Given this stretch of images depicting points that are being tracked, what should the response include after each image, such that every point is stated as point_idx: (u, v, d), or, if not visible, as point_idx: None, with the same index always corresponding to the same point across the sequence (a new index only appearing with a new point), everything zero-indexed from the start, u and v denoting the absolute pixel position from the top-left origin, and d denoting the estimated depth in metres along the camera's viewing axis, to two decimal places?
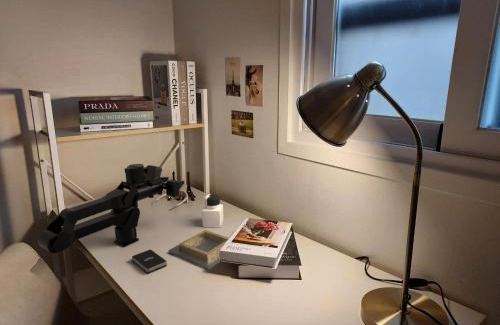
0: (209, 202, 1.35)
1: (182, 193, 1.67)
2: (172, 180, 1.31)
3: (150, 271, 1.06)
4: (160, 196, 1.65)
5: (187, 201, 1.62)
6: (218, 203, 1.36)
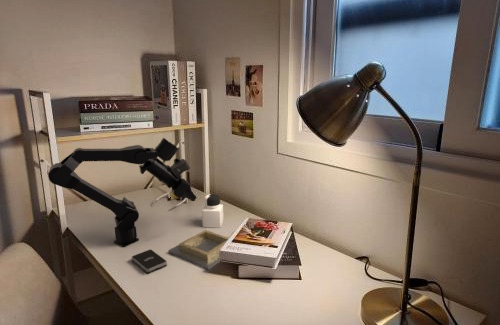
0: (209, 202, 1.35)
1: None
2: None
3: (150, 271, 1.06)
4: (160, 196, 1.65)
5: (187, 201, 1.62)
6: (218, 203, 1.36)
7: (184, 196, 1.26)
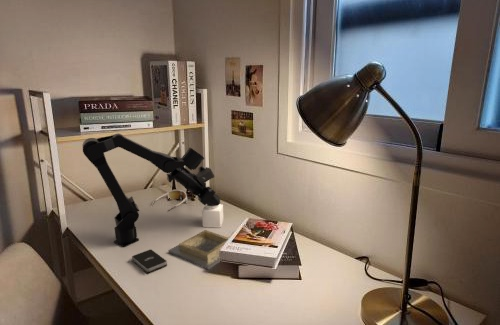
0: None
1: (181, 193, 1.66)
2: (212, 189, 1.29)
3: (150, 271, 1.06)
4: None
5: (186, 201, 1.62)
6: None
7: (208, 202, 1.32)
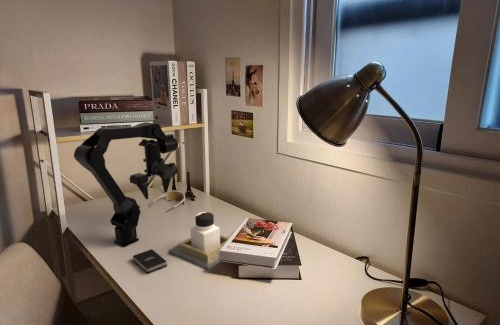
0: (196, 221, 1.15)
1: (180, 194, 1.65)
2: (145, 181, 1.26)
3: (150, 271, 1.06)
4: None
5: (184, 202, 1.60)
6: (206, 225, 1.15)
7: (139, 187, 1.30)
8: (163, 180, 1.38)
